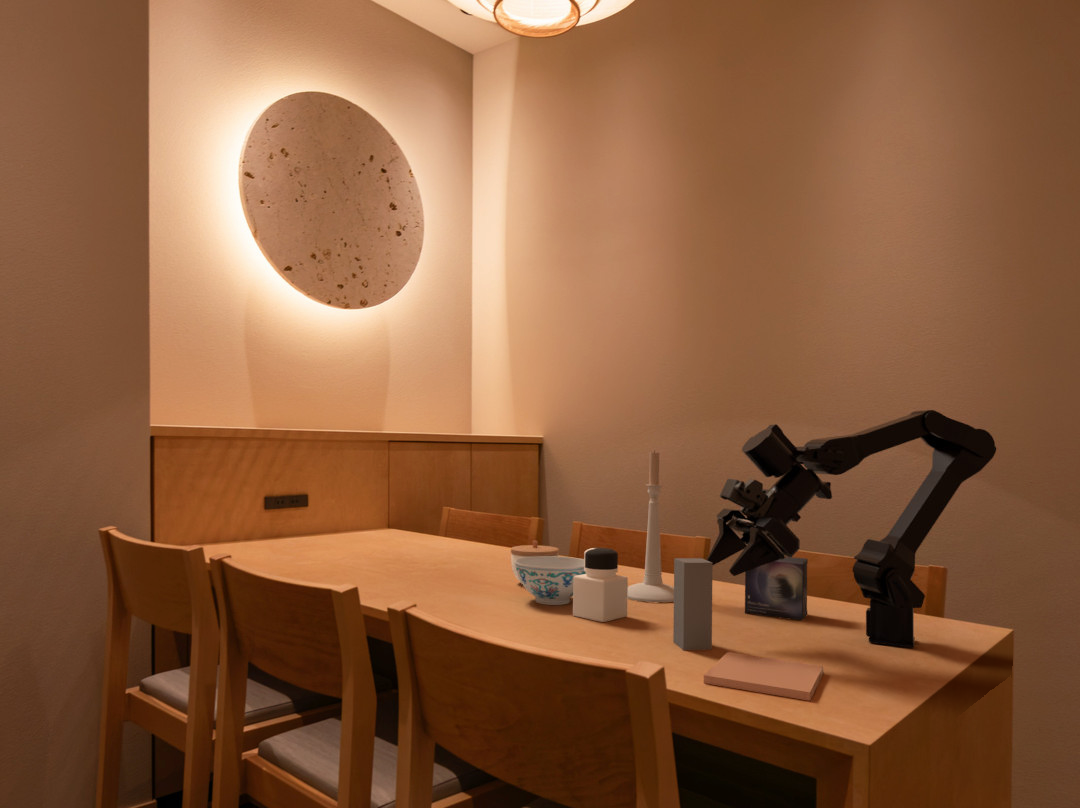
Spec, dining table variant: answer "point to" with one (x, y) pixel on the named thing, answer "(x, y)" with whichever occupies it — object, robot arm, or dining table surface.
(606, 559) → the medicine bottle
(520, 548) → the lidded jar
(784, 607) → the small box
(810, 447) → the robot arm
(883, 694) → the dining table surface
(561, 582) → the chinaware
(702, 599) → the grey block
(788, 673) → the terracotta tile
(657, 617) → the dining table surface
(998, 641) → the dining table surface
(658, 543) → the candlestick
